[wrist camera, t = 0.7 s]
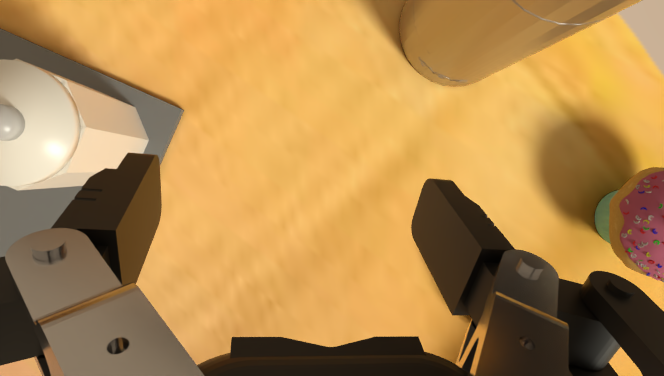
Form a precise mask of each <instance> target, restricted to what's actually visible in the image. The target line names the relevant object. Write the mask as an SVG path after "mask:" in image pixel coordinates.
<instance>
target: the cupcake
mask: <svg viewBox="0 0 664 376" xmlns="http://www.w3.org/2000/svg"><path fill="white" fill-rule="evenodd" d="M595 226H596V229H597V231H598V233H599V234H600V236H601V237H602V238H603V239H604V240H605V241H607V242H608V243H610V244H611V246H612V249H613V251H614V253H615V254H616V255H617V256H618V257H619V258H620V259H621V260H622V262H623V263H624V264H625V265H626V266H627V267H628V268H630V269H632V270H634V271H636V272H639V273H641V274H643V275H646V276H650V277H652V278H654V279H656V280H661V281H662V282H664V168H657V167H653V168H648V169H645V170H643V171H640V172H639V173H637V174H636V175H634V176H633V177H632V178H630V179H629V180H628V181H627V182H626V183H625V184H624V185H623V187H622V188H621V189H620V190H617V191H613V192H611V193H609V194H607V195H606V196H605V197H604V198H603V199H602V200H601V201H600V202H599V204H598V206H597V208H596V211H595Z"/></svg>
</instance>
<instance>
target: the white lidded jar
mask: <svg viewBox="0 0 664 376" xmlns="http://www.w3.org/2000/svg"><path fill="white" fill-rule="evenodd" d="M148 141H149V139H148V137H147V134H146V132H145V129H144V127H143V125H142V122H141V120H140V117H139V115H138V113H137V110H136V108H135V107H133V106H131V105H129V104H127V103H124V102H122V101H120V100H118V99H115V98H113V97H111V96H108V95H106V94H104V93H102V92H99V91H97V90H94V89H92V88H89V87H87V86H84V85H82V84H79V83H77V82H74V81H72V80H69V79H67V78H64V77H62V76H59V75H57V74H54V73H52V72H49V71H47V70H44V69H42V68H39V67H37V66H34V65H32V64H29V63H27V62H24V61H22V60H19V59H14V60H6V59H2V60H0V186H8V187H10V188H13V189H15V190H31V189H45V188H59V187H73V186H83V185H84V184H85V183H86V181H87V180H88V179H89V177H91V176H93V175H94V174H96V173H98V172H100V171H102V170H103V169H105V168H109V169H117V168H118V166H119V165H120V163H121V162H122V160H123V159H124V157H125V156H126V154H127V153H141V154H143V153H144V150H145V148H146V146H147V144H148Z"/></svg>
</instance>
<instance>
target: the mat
mask: <svg viewBox="0 0 664 376" xmlns="http://www.w3.org/2000/svg"><path fill="white" fill-rule="evenodd" d="M2 59H6V60H14V59H19V60H22V61H24V62H27V63H29V64H32V65H34V66H37V67H39V68H42V69H44V70H47V71H49V72H52V73H54V74H57V75H59V76H62V77H64V78H67V79H69V80H72V81H74V82H77V83H79V84H82V85H84V86H87V87H89V88H92V89H94V90H97V91H99V92H102V93H104V94H106V95H108V96H111V97H113V98H115V99H118V100H120V101H122V102H124V103H127V104H129V105H131V106H133V107H135V108H136V110H137V113H138V115H139V117H140V120H141V122H142V125H143V127H144V129H145V132H146V134H147V137H148V139H149V141H148V144H147V146H146V148H145V150H144V153H143V154H153V155H158V157H159V162H160V164H161V162H162V159H163V157H164V155H165V153H166V150H167V148H168V146H169V144H170V141H171V139H172V137H173V134H174V132H175V130H176V128H177V125H178V123H179V121H180V119H181V116H182V114H183V112H184V110H182V109H180V108H178V107H176V106H173V105H171V104H169V103H167V102H164V101H162V100H160V99H158V98H155V97H153V96H151V95H149V94H146V93H144V92H142V91H140V90H137V89H135V88H133V87H131V86H128V85H126V84H124V83H122V82H119V81H117V80H115V79H113V78H110V77H108V76H106V75H104V74H101V73H99V72H97V71H95V70H92V69H90V68H88V67H86V66H84V65H81V64H79V63H77V62H75V61H72V60H70V59H68V58H66V57H63V56H61V55H59V54H57V53H54V52H52V51H50V50H48V49H45V48H43V47H41V46H39V45H36V44H34V43H32V42H30V41H27V40H25V39H23V38H21V37H18V36H16V35H14V34H12V33H9V32H7V31H5V30H3V29H0V60H2ZM82 187H83V186H73V187H59V188H45V189H31V190H15V189H13V188H10V187H8V186H0V257H4V256H5V255H6V252H7V250H8V249H9V248H10V246H11V245H12V244H14V243H15V242H16V241H18V240H19V239H21V238H22V237H24V236H26V235H29V234H31V233H34V232H37V231H41V230H45V229H51V227H52V226H53V225H54V223H55V222H56V221H57V219H58V218H59V217H60V215H61V214H62V213H63V212H64V210H65V209H66V208H67V206H68V205H69V204H70V202H71V201H72V200H74V197H75V196H76V194H77V193H78V192H79V191H80V190H81V188H82Z"/></svg>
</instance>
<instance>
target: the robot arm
mask: <svg viewBox="0 0 664 376" xmlns="http://www.w3.org/2000/svg"><path fill="white" fill-rule="evenodd" d="M640 1H642V0H406V3H405V5H404V7H403V9H402V13H401V18H400V33H399V34H400V39H401V44H402V47H403V50H404V52H405V55H406V57H407V59H408V60H409V61H410V63H411V64H412V66H413V67H414V68H415V69H416V70H417V71H418V72H419V73H420V74H421V75H422V76H424V77H425V78H427V79H429V80H430V81H432V82H435V83H438V84H440V85H444V86H452V87H456V86H466V85H469V84H472V83H475V82H477V81H479V80H482V79H484V78H486V77H488V76H490V75H492V74H494V73H496V72H498V71H500V70H502V69H504V68H506V67H508V66H510V65H512V64H515V63H517V62H519V61H521V60H523V59H525V58H527V57H529V56H531V55H533V54H535V53H537V52H539V51H541V50H543V49H545V48H547V47H549V46H551V45H553V44H555V43H557V42H559V41H561V40H563V39H565V38H567V37H569V36H571V35H573V34H576V33H578V32H580V31H582V30H584V29H586V28H588V27H590V26H592V25H594V24H596V23H598V22H600V21H602V20H604V19H606V18H608V17H610V16H612V15H614V14H616V13H618V12H620V11H622V10H624V9H626V8H628V7H630V6H632V5H634V4H636V3H638V2H640ZM160 216H161V182H160V162H159V157H158V155H153V154H141V153H127V154H126V156H125V157H124V159H123V160H122V162H121V163H120V165H119V166H118V168H117V169H109V168H105V169H103V170H102V171H100V172H98V173H96V174H94V175H93V176H91V177H89V179H88V180H87V181H86V183H85V184H84V185H83V187H82V188H81V190H80V191H79V192H78V193H77V194H76V196H75V197H74V200H72V201H71V202H70V204H69V205H68V206H67V208H66V209H65V210H64V212H63V213H62V214H61V215H60V217H59V218H58V219H57V221H56V222H55V223H54V225H53V226H52V227H51V229H45V230H41V231H37V232H34V233H31V234H29V235H26V236H24V237H22V238H21V239H19V240H18V241H16V242H15V243H14V244H12V245H11V246H10V248H9V249H8V250H7V252H6V255H5V256H4V257H0V365H4V364H8V363H12V362H16V361H20V360H24V359H28V358H32V357H34V358H35V360H36V362H37V365H38V367H39V369H40V372H41V374H42V376H618V374H617V373H616V372H615V371H614V369H613V368H612V367H611V365H610V364H609V363H608V362H609V361H610V359H611V358H612V357H613V356H614V354H615V353H616V352H617V350H618V349H619V348H620V347H621V348H622V349H623V350H624V351H625V352H626V354H627V355H628V356H629V357H630V358H631V360H632V361H633V362H634V363H635V364H636V366H637V367H638V368H639V369H640V371H641V373H642V375H643V376H664V312H663V311H662V310H661V309H660V308H659V307H658V306H657V305H656V304H655V303H654V302H653V301H652V300H651V299H650V298H649V297H648V296H647V295H646V294H645V293H644V292H643V291H642V290H641V289H639V288H638V287H637V286H636V285H634V284H633V283H631V282H629V281H628V280H626V279H624V278H622V277H620V276H617V275H615V274H612V273H609V272H604V271H594V272H592V273H591V274H590V275H589V276H588V278H587V280H586V281H585V283H584V284H579V283H575V282H571V281H567V280H563V279H559V276H558V274H557V272H556V270H555V269H554V268H553V267H552V266H551V265H550V264H549V263H548V262H546V261H545V260H543V259H542V258H540V257H538V256H537V255H534V254H532V253H529V252H526V251H523V250H515V249H514V247H513V246H512V245H511V244H510V243H509V241H508V240H507V239H506V238H505V237H504V235H503V234H502V233H501V232H500V231H499V229H498V228H497V227H496V226H494V223H493V222H492V221H491V220H490V218H487V215H486V214H485V212H484V211H483V210H482V209H481V208H480V206H479V205H477V204H476V203H474V202H473V201H472V200H470V199H469V198H467V197H466V196H464V194H463V193H462V192H461V191H460V189H459V188H458V187H457V186H456V184H455V183H454V182H453V181H451V180H441V179H427V180H426V181H425V183H424V185H423V188H422V191H421V194H420V197H419V201H418V204H417V207H416V210H415V213H414V216H413V219H412V227H411V228H412V236H413V239H414V241H415V243H416V245H417V247H418V248H419V250H420V252H421V254H422V256H423V258H424V260H425V262H426V264H427V266H428V268H429V270H430V272H431V274H432V276H433V278H434V280H435V282H436V284H437V286H438V288H439V290H440V292H441V294H442V296H443V298H444V300H445V302H446V304H447V306H448V307H449V309H450V311H451V313H452V315H470V316H471V318H472V320H471V322H470V324H469V326H468V328H467V331H466V334H465V337H464V340H463V343H462V346H461V349H460V352H459V355H458V358H457V361H456V364H454V363H452V362H450V361H448V360H446V359H444V358H441V357H439V356H436V355H433V354H430V353H427V352H424V350H423V348H422V345H421V343H420V340H419V338H418V337H373V338H369V339H365V340H361V341H357V342H353V343H349V344H345V345H341V346H337V347H325V346H320V345H316V344H311V343H306V342H302V341H297V340H292V339H288V338H283V337H232V341H231V353H228V354H224V355H220V356H217V357H215V358H212V359H209V360H207V361H205V362H203V363H201V364H198V365H196V364H195V362H194V361H193V360H192V358H191V357H190V356H189V354H188V353H187V352H186V350H185V349H184V347H183V346H182V345H181V343H180V342H179V341H178V339H177V338H176V337H175V335H174V334H173V333H172V331H171V330H170V329H169V327H168V326H167V325H166V323H165V322H164V321H163V319H162V318H161V317H160V315H159V314H158V313H157V311H156V310H155V309H154V307H153V306H152V305H151V303H150V302H149V301H148V299H147V298H146V297H145V295H144V294H143V293H142V291H141V290H140V289H139V287H138V286H137V285H136V282H137V279H138V277H139V274H140V271H141V269H142V266H143V264H144V261H145V258H146V256H147V253H148V251H149V248H150V245H151V243H152V240H153V238H154V235H155V232H156V230H157V227H158V225H159V221H160Z"/></svg>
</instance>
